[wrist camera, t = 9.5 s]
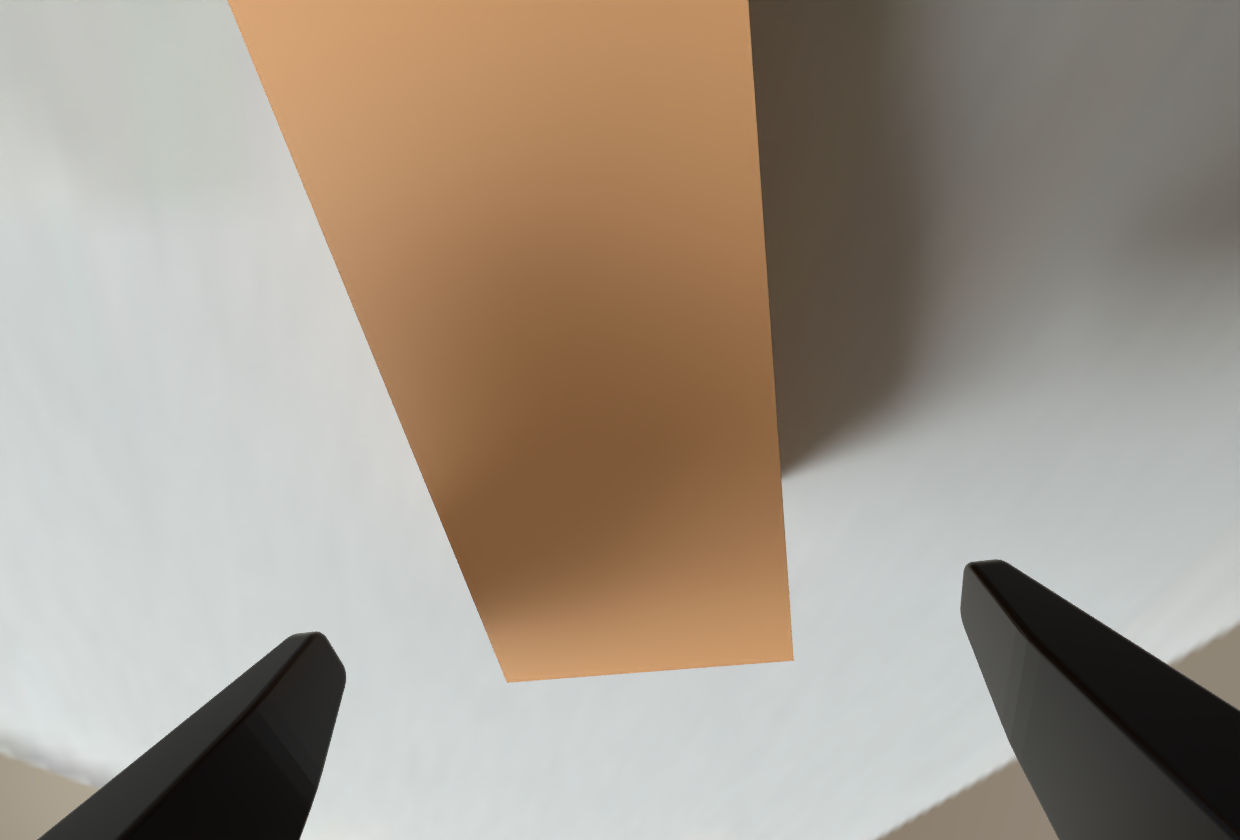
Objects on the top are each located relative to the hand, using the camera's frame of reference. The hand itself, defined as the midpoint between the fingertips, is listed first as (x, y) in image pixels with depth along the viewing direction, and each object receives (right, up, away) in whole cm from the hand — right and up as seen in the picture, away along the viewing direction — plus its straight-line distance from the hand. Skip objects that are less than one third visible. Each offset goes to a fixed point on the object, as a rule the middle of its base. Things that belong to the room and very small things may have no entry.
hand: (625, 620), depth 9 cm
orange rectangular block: (0, +5, +2) cm, 6 cm away
